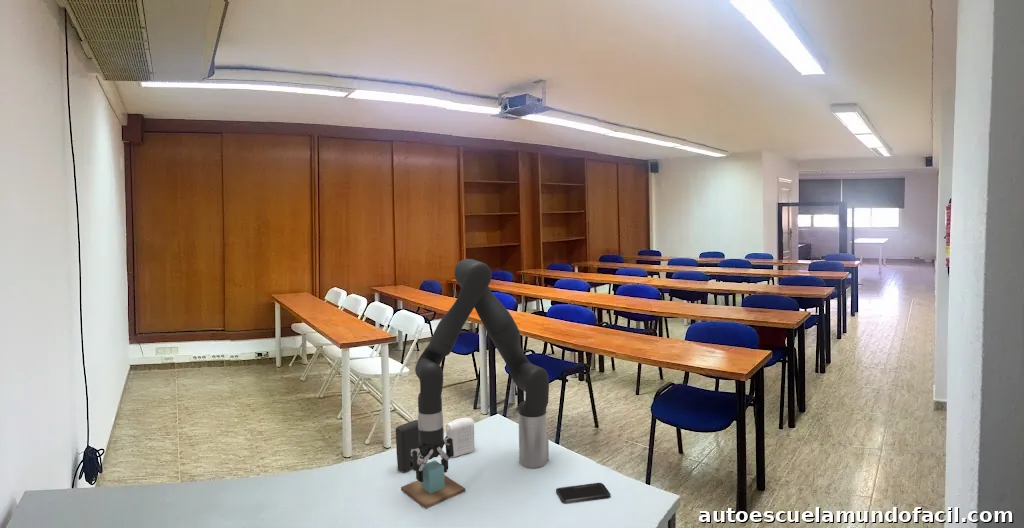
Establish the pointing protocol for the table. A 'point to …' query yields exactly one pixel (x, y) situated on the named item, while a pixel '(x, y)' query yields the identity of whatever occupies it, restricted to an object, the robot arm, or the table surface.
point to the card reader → (406, 443)
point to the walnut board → (434, 498)
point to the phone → (582, 493)
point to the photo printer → (461, 435)
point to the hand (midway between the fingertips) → (432, 476)
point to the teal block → (433, 477)
